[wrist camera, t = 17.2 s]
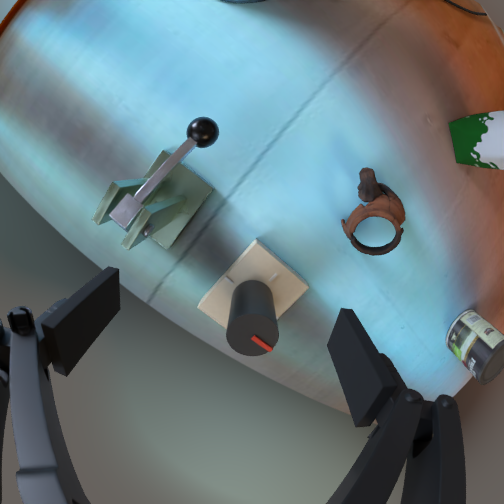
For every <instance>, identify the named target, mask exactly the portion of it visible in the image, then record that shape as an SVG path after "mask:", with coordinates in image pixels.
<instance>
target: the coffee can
mask: <svg viewBox="0 0 504 504" xmlns="http://www.w3.org/2000/svg"><path fill="white" fill-rule="evenodd" d="M446 345H447V347H448V348H449V349H450V350H451V351H452V352H453V353H454V354H455V355H456V356H457V357H458V359H459V360H460V361H461V362H462V363H463V364H464V365H465V366H466V367H467V369H468V370H469V371H470V372H471V373H472V374H473V375H474V377H475V378H476V379H477V380H478V382H479V383H480V384H481V385H485V384H487V383H489V382H490V381H492V380H493V379H494V378H495V377H496V376H497V375H498V374H499V373H500V372H501V370H502V369H503V368H504V335H503V334H502V333H501V332H500V331H498V330H497V329H496V328H495V327H494V326H492V325H491V324H490V323H489V322H487V321H486V320H485V319H484V318H482V317H481V316H480V315H479V314H477V313H476V312H475V311H474V310H467V311H465V312H463V313H462V314H460V315H459V316H458V317H457V319H456V320H455V321H454V322H453V324H452V325H451V327H450V329H449V331H448V333H447V337H446Z"/></svg>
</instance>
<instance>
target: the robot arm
mask: <svg viewBox="0 0 504 504" xmlns="http://www.w3.org/2000/svg"><path fill="white" fill-rule="evenodd" d="M221 1H225V2H231V3H253V2H260V1H265V0H221ZM445 1H446V2H448V3H450V4H452V5H454V6H456V7H458V8H460V9H462V10H464V11H466V12H469V13H472V14H475V15H485V16H487V14H486V13H478V12H473V11H470V10H468V9H465V8H463V7H461V6H459V5H457V4H455V3H453V2H452V1H450V0H445ZM119 291H120V290H119V269H117V268H113V267H107V268H106V269H104V270H103V271H102V272H101V273H99V274H98V275H97V276H95V277H94V278H93V279H92V280H90V281H89V282H88V283H87V284H86V285H84V286H83V287H82V288H81V289H79V290H78V291H77V292H76V293H75V294H73V295H72V296H71V297H70V298H69V299H66V298H64V299H62V300H59V301H57V302H56V303H55V304H53V305H52V306H51V307H50V308H49V309H47V311H45V312H44V313H43V314H42V315H40V316H39V317H38V318H37V319H36V320H35V321H34V319H33V315H32V311H31V309H30V308H28V307H25V306H19V307H15V308H13V309H11V310H10V311H9V312H8V314H7V317H8V321H9V324H10V327H11V328H6V327H3V324H2V321H1V319H0V504H1V502H2V476H1V475H2V472H1V471H2V448H3V437H4V429H5V421H6V415H7V408H8V403H9V398H10V403H11V415H12V425H13V433H14V439H15V445H16V451H17V456H18V460H19V465H20V471H17V472H16V481H17V485H18V488H19V492H20V495H21V499H22V502H23V504H91V503H90V502H89V500H88V499H87V497H86V496H85V494H84V492H83V489H82V487H81V485H80V482H79V480H78V478H77V475H76V472H75V470H74V467H73V465H72V462H71V459H70V456H69V453H68V450H67V447H66V444H65V441H64V437H63V434H62V430H61V426H60V423H59V419H58V415H57V410H56V406H55V401H54V397H53V391H52V385H51V379H50V373H49V370H48V365H49V364H50V363H51V362H52V365H53V368H54V371H56V372H58V373H60V374H62V375H64V376H66V377H67V376H68V375H69V373H70V372H71V371H72V369H73V368H74V367H75V365H76V364H77V363H78V361H79V360H80V358H81V357H82V356H83V355H84V354H85V352H86V351H87V349H88V348H89V347H90V346H91V345H92V343H93V342H94V341H95V340H96V338H97V337H98V336H99V335H100V333H101V332H102V331H103V330H104V328H105V327H106V326H107V325H108V323H109V322H110V321H111V320H112V319H113V317H114V316H115V315H116V314H117V313H118V311H119V310H120V292H119ZM327 347H328V350H329V352H330V355H331V358H332V361H333V363H334V366H335V369H336V372H337V374H338V377H339V380H340V383H341V386H342V389H343V391H344V394H345V397H346V400H347V403H348V406H349V409H350V412H351V415H352V418H353V421H354V424H355V427H365V426H370V425H371V424H372V422H373V421H374V420H375V418H376V420H377V423H378V425H377V426H376V428H375V429H374V430H373V431H372V433H371V434H370V435H369V436H368V438H369V440H368V442H367V443H366V445H365V447H364V449H363V450H362V452H361V454H360V455H359V457H358V459H357V460H356V462H355V463H354V465H353V466H352V468H351V469H350V471H349V473H348V474H347V476H346V477H345V478H344V480H343V482H342V483H341V484H340V486H339V487H338V488H337V490H336V491H335V493H334V494H333V495H332V497H331V498H330V499H329V500H328V502H327V503H326V504H386V502H387V501H388V499H389V497H390V495H391V492H392V490H393V488H394V486H395V484H396V482H397V480H398V477H399V475H400V473H401V471H402V468H403V466H404V463H405V460H406V458H407V465H406V473H405V480H404V488H403V493H402V499H401V504H466V472H465V456H464V445H463V437H462V429H461V423H460V416H459V411H458V405H457V403H456V401H455V400H454V399H453V398H452V397H451V396H448V395H444V394H442V395H439V396H438V398H437V399H436V400H435V402H433V401H426V400H424V399H423V397H422V395H421V394H420V393H419V392H417V391H415V390H413V389H408V388H407V387H406V385H405V383H404V381H403V380H402V378H401V376H400V375H399V373H398V372H397V370H396V368H395V367H394V365H393V363H392V361H391V360H390V359H389V358H388V357H387V356H386V355H385V354H384V353H379V352H378V350H377V349H376V347H375V345H374V344H373V342H372V340H371V339H370V337H369V335H368V334H367V332H366V330H365V329H364V327H363V326H362V324H361V322H360V321H359V319H358V318H357V316H356V314H355V313H354V311H353V310H352V309H345V308H341V310H340V312H339V315H338V318H337V321H336V323H335V326H334V329H333V331H332V334H331V336H330V339H329V342H328V344H327Z"/></svg>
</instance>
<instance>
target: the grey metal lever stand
mask: <svg viewBox="0 0 504 504" xmlns="http://www.w3.org/2000/svg"><path fill="white" fill-rule="evenodd" d="M170 156H171V154H170V153H169V152H167V151H166V150H163V151H162V152H161V153H160V155H159V156H158V157H157V159H156V160H155V162H154V163H153V165H152V166H151V167H150V169H149V170H148V172H147V173H146V175H145V176H144V178H143V179H132V180H122V181H113V182H112V183H111V185H110V187H109V188H108V190H107V192H106V194H105V195H104V197H103V199H102V201H101V203H100V205H99V206H98V208H97V210H96V212H95V214H94V216H93V218H92V220H93V221H94V222H95V223H96V224H97V225H100V224H103V223H105V222H108V221H110V220H112V218H111V217H110V216H109V214H110V213H111V211H112V210H113V209H114V208H115V207H116V205H117V204H118V203H119V202H120V201H121V199H122V198H123V197H124V196H125V195H126V193H129V194H130V195H131V196H134V195H135V194H136V193H137V192H138V191H139V190H140V188H141V187H142V186H143V185H144V184H145V183H146V182H147V181H148V179H149V178H150V177H151V176H152V175H153V174H154V173H155V172H156V171H157V170H158V169H159V167H160V166H161V165H162V164H163V163H164V162H165V161H166V160H167V159H168V158H169V157H170ZM213 189H214V187H213V186H212V185H210V184H209V183H208V182H207V181H205V180H204V179H203V178H201V177H200V176H199V175H198V174H196V173H195V172H194V171H192V170H191V169H190V168H188V167H187V166H186V165H185V164H183V163H182V162H181V163H180V164H179V165H178V166H177V167H176V168H175V169H174V170H173V171H172V172H171V173H170V175H169V176H168V177H167V178H166V179H165V180H164V181H163V182H162V183H161V184H160V186H159V187H158V188H157V189H156V190H155V191H154V192H153V194H152V195H151V196H150V197H149V198H148V199H147V201H146V202H145V203H144V204H143V205H144V207H143V209H142V210H141V212H140V214H139V215H138V217H137V218H136V220H135V221H134V223H133V225H132V226H131V228H130V230H129V231H128V233H127V235H126V236H125V238H124V240H123V241H122V243H121V245H122V246H123V247H124V248H126V249H127V250H130V249H131V248H133V247H134V246H136V245H137V244H139V243H140V242H142V241H143V240H145V239H146V238H148V237H149V236H151V237H152V238H153V239H154V240H156V241H157V242H158V243H159V244H161V245H162V246H163V247H164V248H166V249H167V250H168V249H169V248H170V247H171V246H172V244H173V243H174V241H175V240H176V239H177V237H178V236H179V235H180V233H181V232H182V230H183V229H184V228H185V226H186V225H187V224H188V222H189V221H190V220H191V218H192V217H193V216H194V214H195V213H196V212H197V210H198V209H199V208H200V206H201V205H202V204H203V202H204V201H205V200H206V198H207V197H208V196H209V195H210V193H211V192H212V191H213Z"/></svg>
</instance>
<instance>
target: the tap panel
mask: <svg viewBox="0 0 504 504" xmlns="http://www.w3.org/2000/svg"><path fill="white" fill-rule="evenodd" d="M248 280H257V281H261V282H263V283H265V284H266V285H267V286H268V287H269V288H270V290H271V292H272V294H273V300H274V306H275V313H276V319H279V317H280V316H281V315H282V314H283V313H284V312H285V311H286V310H287V309H288V308H289V307H290V306H291V305H292V304H293V303H294V302H295V301H296V300H297V299H298V298H299V297H300V296H301V295H302V294H303V293H304V292H305V291H306V290H307V289H308V288H309V286H308V284H307V282H306V281H305V280H304V279H303V278H302V277H301V276H300V275H299V274H297V273H296V272H295V271H294V270H293V269H292V268H290V267H289V266H288V265H287V264H286V263H285V262H284V261H282V260H281V259H280V258H279V257H278V256H277V255H275V254H274V253H273V252H272V251H271V250H270V249H268V248H267V247H266V246H265V245H264V244H263V243H261V242H260V241H259V240H258V239H257V238H256V239H255V240H254V241H253V242H252V243H251V244H250V245H249V246H248V248H247V249H246V250H245V251H244V252H243V253H242V254H241V255H240V256H239V258H238V259H237V260H236V261H235V262H234V263H233V264H232V265H231V266H230V268H229V269H228V270H227V271H226V272H225V273H224V274H223V275H222V276H221V278H220V279H219V280H218V281H217V282H216V283H215V284H214V285H213V286H212V288H211V289H210V290H209V291H208V292H207V293H206V294H205V295H204V297H203V298H202V299H201V300H200V302H199V305H198V308H199V309H200V310H201V311H203V312H204V313H205V314H207V315H208V316H209V317H211V318H212V319H213V320H215V321H216V322H217V323H219V324H220V325H222V326H223V327H224V328H226V329H227V325H228V319H229V312H230V306H231V299H232V294H233V291H234V289H235V288H236V287H237V286H238V285H239V284H240V283H242V282H244V281H248Z"/></svg>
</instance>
